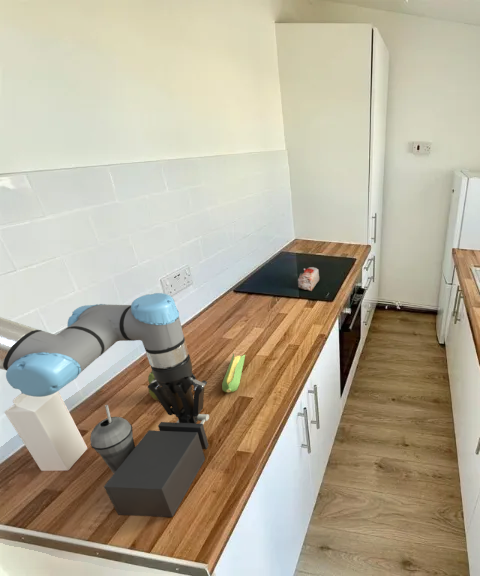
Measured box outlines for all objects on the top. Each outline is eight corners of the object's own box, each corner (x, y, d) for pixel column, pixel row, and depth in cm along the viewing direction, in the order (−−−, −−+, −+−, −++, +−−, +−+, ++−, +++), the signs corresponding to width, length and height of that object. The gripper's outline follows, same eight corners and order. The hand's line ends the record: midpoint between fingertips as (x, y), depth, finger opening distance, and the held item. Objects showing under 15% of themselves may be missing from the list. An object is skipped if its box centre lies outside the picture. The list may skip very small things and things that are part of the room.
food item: (312, 292, 164) (311, 274, 160) (297, 291, 165) (296, 273, 160) (320, 281, 176) (320, 264, 172) (306, 280, 177) (305, 263, 173)
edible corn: (220, 398, 98) (218, 386, 96) (233, 357, 115) (231, 346, 113) (238, 396, 99) (236, 384, 97) (249, 355, 116) (247, 345, 114)
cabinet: (158, 457, 80) (148, 430, 76) (205, 459, 80) (197, 432, 76) (118, 515, 68) (103, 486, 64) (172, 517, 68) (161, 489, 64)
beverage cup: (112, 461, 78) (83, 399, 70) (148, 451, 81) (125, 390, 72) (103, 489, 72) (70, 425, 64) (142, 477, 75) (115, 415, 66)
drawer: (180, 426, 87) (173, 405, 84) (218, 428, 87) (213, 407, 84) (134, 492, 71) (123, 469, 68) (180, 494, 71) (172, 471, 68)
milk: (88, 448, 81) (54, 380, 72) (68, 471, 76) (28, 400, 66) (62, 448, 81) (24, 379, 71) (40, 471, 75) (-4, 400, 66)
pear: (164, 389, 100) (156, 363, 96) (178, 393, 99) (170, 367, 95) (148, 401, 95) (138, 375, 91) (162, 406, 94) (153, 379, 90)
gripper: (207, 350, 77) (224, 422, 87) (152, 347, 77) (175, 419, 87) (189, 371, 70) (210, 446, 80) (129, 368, 70) (157, 444, 80)
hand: (192, 432), depth 84 cm, fingers closed
